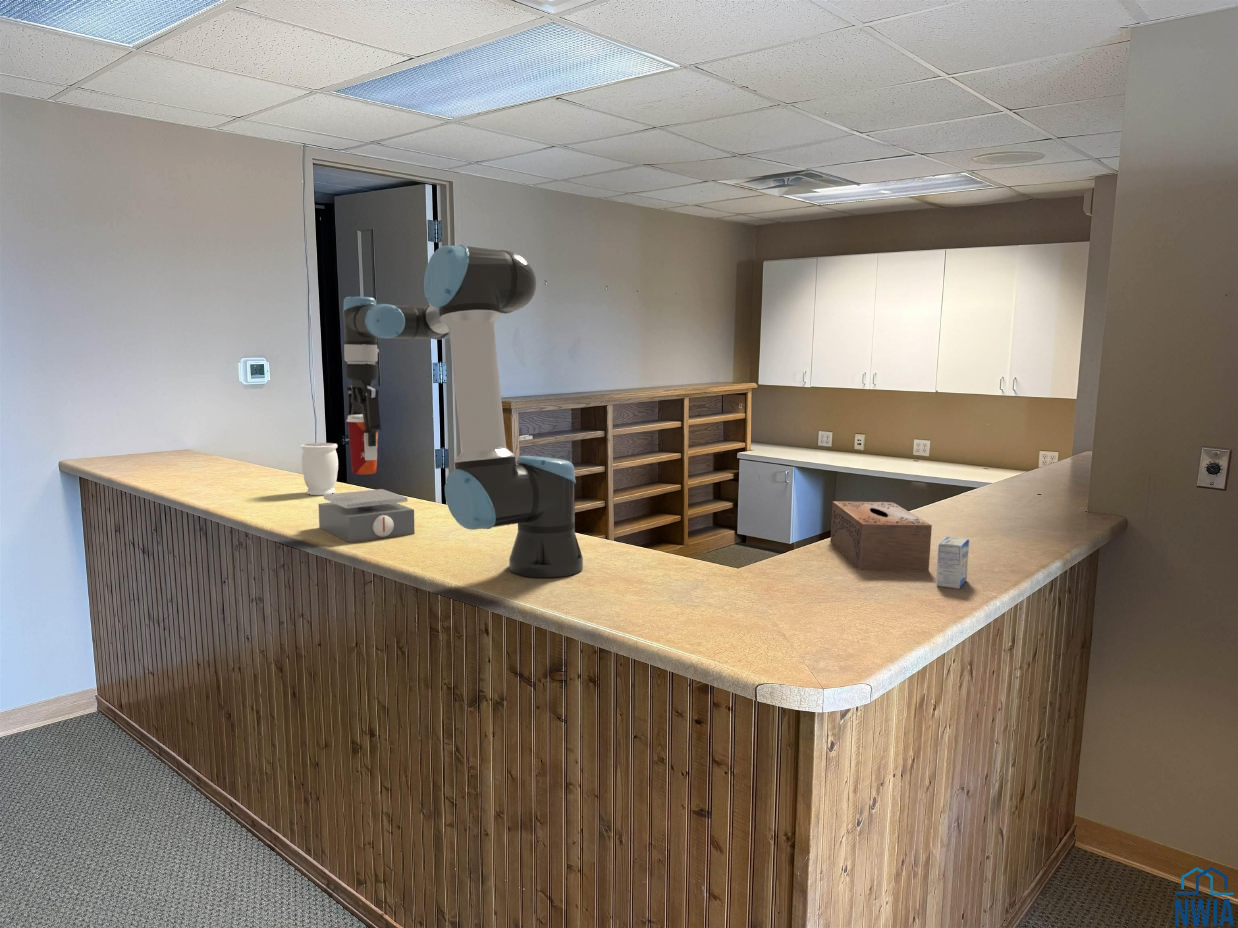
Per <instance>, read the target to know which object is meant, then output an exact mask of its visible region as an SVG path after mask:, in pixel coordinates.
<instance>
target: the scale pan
mask: <svg viewBox="0 0 1238 928" xmlns="http://www.w3.org/2000/svg"><path fill="white" fill-rule="evenodd" d="M323 500H325V501H328V502H329V503H330V502H333V503H335V504H337V505H340V506H342V507H344V508H356V507H368V506H374V505H383V504H392V503H398V504H400V503H401V504H402V503H407V502H408V501H409V500H408V497H406V496H403V495H401V494H398V493H396V492H392V491H389V490H386V489H383V488H379V489H369V490H357V491H350V492H349V491H347V492H339V493H333V494H327V495H323Z"/></svg>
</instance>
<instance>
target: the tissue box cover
mask: <svg viewBox="0 0 1238 928" xmlns="http://www.w3.org/2000/svg"><path fill="white" fill-rule="evenodd" d="M831 505H832V508H831V525H830V527H831V528H830V542H831V544H833V545H834V546H835V548H836V549H837V550H839V551H840V552H841V553H842V554H843V555H844V556H845V557H846V558H847V559H849V561H850V562H851V563H852V564H854V566H855V567H856V568H857V569H859V570H862V571H863V570H868V571H869V570H870V571H874V570H875V571H913V572H914V571H916V572H917V571H920V572H921V571H922V572H926V571H928V572H929V571H930V558H931V557H930V555H931V542H932V539H931V538H932V530H933V529H932V527H933V525H932V524H930V523H929V522H927V521H926V520H924V519H922V518H921V517H919V516H917V515H915V514H914V513H912V512H910V511H908V510H907V509H905V508H904V507H901V506H900V505H898V504H897V503H895V502H892V501H891V502H890V501H889V502H888V501H887V502H886V501H840V500H839V501H832V504H831Z"/></svg>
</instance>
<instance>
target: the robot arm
mask: <svg viewBox="0 0 1238 928" xmlns="http://www.w3.org/2000/svg"><path fill="white" fill-rule="evenodd" d="M532 267H533V266H531V264H530V263H529V261H527V259H525V258H524V257H523V256H522V255H520V254H519V253H516V252H514V251H511V250H504V249H500V250H499V249H493V248H492V249H491V248H483V247H475V246H466V245H464V244H460V245H442V246H441V247H439V248H437V249H436V250H435V251H434V252H433V253H432V255H431V257H430V258H429V260H428V263H427V265H426V267H425V272H424V277H423V279H424V280H423V290H424V291H423V292H424V296H425V299H426V300H427V303H428V304H429V305H426V306H425V305H424V306H420V305H419V306H418V305H417V306H415V305H397V304H395V305H394V304H389V303H388V304H387V303H377V301H376V299H375V298H374V297H371V296H346V297H345V298H344V299H343V307H342V308H343V310H342V317H343V331H344V332H343V334H344V337H343V338H344V344H343V348H344V349H343V350H344V351H343V352H344V355H343V356H344V357H343V358H344V361H345V362H347V363H346V364H345V365H344V371H345V373H344V375H345V376H344V377H345V379H346V380H349V381H350V380H352V382H351V385H347V386H346V394H347V395H346V397H347V398H346V401H347V402H346V420H348V415H356V414H363V418H364V423H365V429H366V430H364V431H363V433H364V447H365V460H377V461H378V445H377V439H376V432H377V431H378V432H379V431H381V429H382V427H381V416H380V404H379V403H380V402H379V388H374V387H373V386H374V385H373V382H372V381H373V380H377V379H378V378H379V365H378V364H377V363H376V362H378V354H379V352H380V350H379V348H378V339H382V340H384V339H424V340H427V339H428V340H437V341H438V340H447V339H449V344H450V352H451V353H450V354H451V363H452V371H453V382H454V392H455V402H456V410H457V411H456V412H457V420H458V422H457V423H458V431H459V440H460V454H458V456H457V457H456V458H455V460H454V462H453V463H454V470H452V471H451V472H449V474H448V475H447V476H446V479H445V482H446V483H444V497H445V500H446V501H445V502H446V504H447V507H448V510H449V512H450V514H451V516H452V517H453V519H455V521H456V523H457V524H459V526H461V527H462V528H464V529H467V530H470V531H471V530H490V529H492V528H498V527H503V526H510V525H516V524H517V533H516V537H515V540H514V543H513V546H512V549H511V553H510V555H509V560H508V561H509V562H508V563H509V565H508V566H509V567H508V569H509V571H510V572H511V573H513V574H515V575H519V576H523V577H530V578H541V579H542V578H544V579H545V578H550V579H551V578H561V577H562V578H563V577H567V576H573V575H575V574H578V573H579V572H582V570H583V568H584V561H583V559H584V558H583V554H582V551H581V548H580V545H579V541H578V538H577V536H576V532H575V531H576V530H575V529H576V528H575V526H576V525H575V523H576V522H575V521H576V520H575V519H576V517H575V514H576V513H575V512H576V511H575V508H576V507H575V506H576V505H575V504H576V502H575V501H576V483H577V480H576V475H575V466H574V464H573V463H572V462H571V461H569V460H567V459H566V460H565V459H562V458H561V459H560V458H554V457H553V458H552V457H546V456H535V455H520V456H518V457H517V461H516V455H515V454H514V453H513V452H512V451H510V450H509V449H508V447H507V442H506V432H505V423H504V413H503V405H502V404H503V403H502V394H501V385H500V384H501V383H500V375H499V374H500V373H499V364H498V362H499V361H498V355H497V344H496V336H495V335H496V334H495V323H496V322H497V320H498V319H499V318H500V317H501V316H502V315H503V314H504V315H505V314H506V315H507V314H510V313H512V312H516V311H518V310H520V309H522V308H524V307H526V306H527V305H528V304H529V303H530V302H531V301H532V299H533V297H534V295H535V292H536V289H537V278H536V274H535V271H534V269H533V268H532ZM501 314H502V315H501ZM346 426H347V427H348V421H346Z"/></svg>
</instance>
